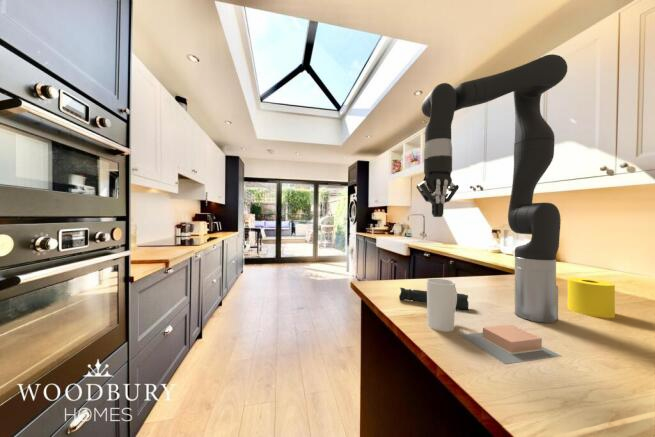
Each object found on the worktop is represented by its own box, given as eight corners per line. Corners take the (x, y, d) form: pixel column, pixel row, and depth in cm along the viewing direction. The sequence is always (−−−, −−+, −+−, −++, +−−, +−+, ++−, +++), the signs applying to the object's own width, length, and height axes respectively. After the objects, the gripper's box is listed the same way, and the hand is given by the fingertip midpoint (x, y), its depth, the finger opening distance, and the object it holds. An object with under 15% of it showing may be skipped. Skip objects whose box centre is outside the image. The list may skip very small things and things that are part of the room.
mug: (443, 335, 59) (444, 286, 59) (420, 325, 65) (421, 280, 65) (468, 327, 64) (468, 281, 64) (445, 318, 70) (445, 276, 70)
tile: (482, 338, 57) (510, 335, 59) (511, 354, 50) (541, 350, 52) (482, 327, 57) (510, 324, 59) (511, 342, 50) (541, 338, 52)
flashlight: (468, 313, 74) (468, 297, 74) (398, 302, 83) (399, 288, 83) (467, 308, 79) (467, 292, 79) (401, 298, 88) (401, 284, 88)
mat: (506, 331, 62) (506, 329, 62) (561, 357, 50) (561, 355, 50) (459, 336, 59) (458, 335, 59) (505, 366, 47) (505, 363, 47)
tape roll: (625, 318, 71) (625, 285, 71) (590, 317, 71) (590, 285, 71) (589, 306, 81) (589, 277, 81) (558, 305, 81) (558, 277, 81)
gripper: (448, 162, 76) (448, 217, 76) (410, 159, 73) (410, 216, 73) (467, 155, 69) (466, 217, 69) (425, 152, 66) (425, 216, 66)
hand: (437, 216), depth 71 cm, fingers closed
